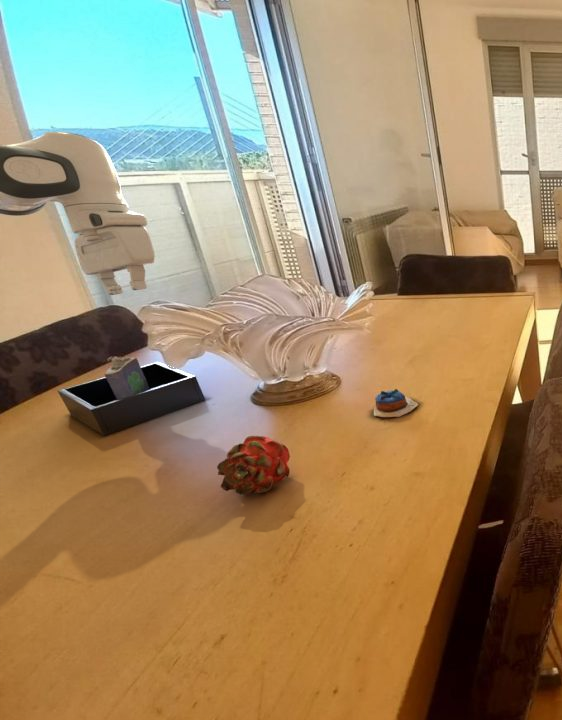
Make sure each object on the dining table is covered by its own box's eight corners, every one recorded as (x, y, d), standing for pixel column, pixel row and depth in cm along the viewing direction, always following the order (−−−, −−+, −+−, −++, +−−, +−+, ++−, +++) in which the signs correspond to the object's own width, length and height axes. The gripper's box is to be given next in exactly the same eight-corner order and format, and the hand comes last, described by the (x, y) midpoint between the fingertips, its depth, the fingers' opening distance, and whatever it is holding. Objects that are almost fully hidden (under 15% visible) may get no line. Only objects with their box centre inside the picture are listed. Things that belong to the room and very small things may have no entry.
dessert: (361, 413, 90) (370, 383, 91) (385, 417, 96) (393, 388, 97) (396, 421, 88) (405, 390, 89) (418, 424, 94) (426, 395, 95)
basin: (104, 436, 86) (90, 409, 84) (70, 415, 94) (57, 390, 92) (205, 399, 99) (195, 376, 97) (168, 383, 107) (158, 361, 105)
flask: (137, 413, 93) (113, 363, 89) (118, 416, 92) (92, 366, 88) (156, 394, 101) (134, 347, 97) (139, 397, 100) (116, 350, 95)
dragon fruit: (263, 518, 67) (262, 487, 76) (308, 467, 70) (301, 444, 79) (200, 490, 62) (206, 461, 72) (251, 437, 65) (250, 416, 74)
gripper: (55, 230, 95) (81, 299, 98) (107, 213, 87) (133, 288, 90) (98, 230, 101) (121, 295, 104) (150, 214, 93) (173, 285, 96)
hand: (127, 292), depth 97 cm, fingers open, 8 cm apart
